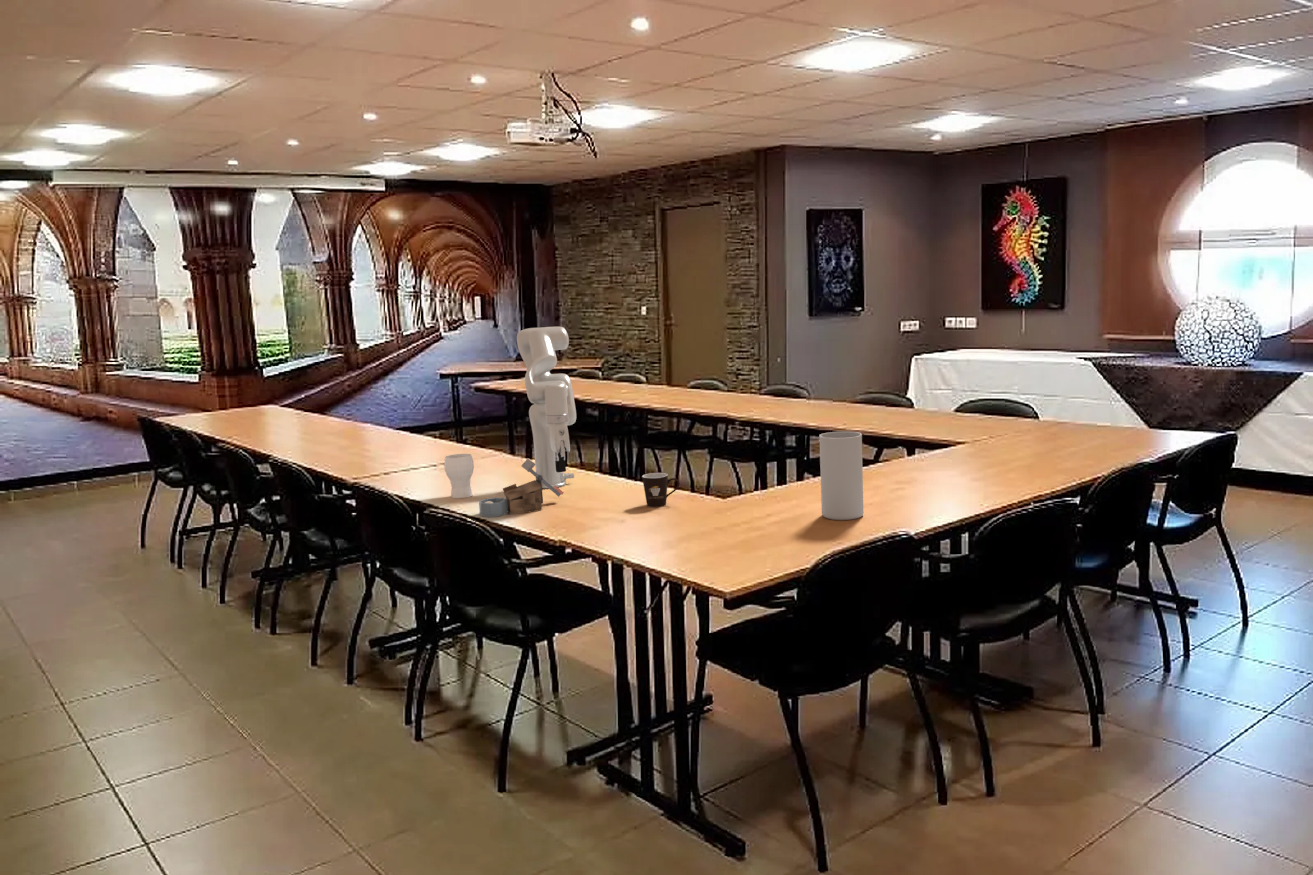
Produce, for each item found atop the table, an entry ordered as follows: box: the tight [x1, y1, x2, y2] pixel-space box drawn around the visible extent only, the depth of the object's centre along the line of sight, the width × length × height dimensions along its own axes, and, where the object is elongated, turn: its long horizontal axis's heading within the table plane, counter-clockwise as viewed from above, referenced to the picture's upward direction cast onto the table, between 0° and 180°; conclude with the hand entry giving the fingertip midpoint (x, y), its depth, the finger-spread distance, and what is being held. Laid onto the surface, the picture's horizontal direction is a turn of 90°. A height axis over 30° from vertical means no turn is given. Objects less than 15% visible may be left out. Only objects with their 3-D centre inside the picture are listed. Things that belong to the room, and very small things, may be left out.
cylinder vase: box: [818, 431, 864, 521], centre depth 298 cm, size 12×12×25 cm
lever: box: [521, 458, 564, 497], centre depth 336 cm, size 17×11×3 cm
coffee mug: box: [641, 472, 681, 508], centre depth 328 cm, size 12×9×10 cm
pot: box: [478, 497, 509, 518], centre depth 329 cm, size 9×9×4 cm
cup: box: [443, 453, 475, 499], centre depth 360 cm, size 11×11×15 cm
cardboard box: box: [502, 478, 544, 515], centre depth 334 cm, size 14×12×10 cm
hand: (561, 471), depth 341 cm, fingers closed
